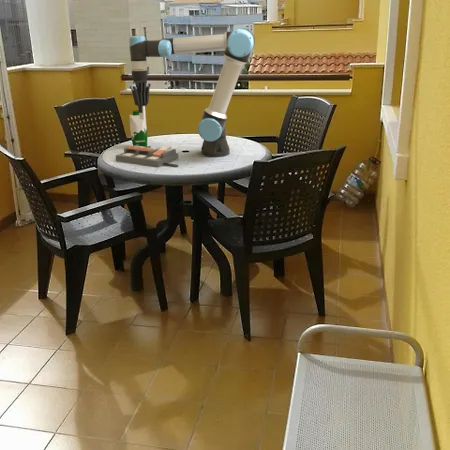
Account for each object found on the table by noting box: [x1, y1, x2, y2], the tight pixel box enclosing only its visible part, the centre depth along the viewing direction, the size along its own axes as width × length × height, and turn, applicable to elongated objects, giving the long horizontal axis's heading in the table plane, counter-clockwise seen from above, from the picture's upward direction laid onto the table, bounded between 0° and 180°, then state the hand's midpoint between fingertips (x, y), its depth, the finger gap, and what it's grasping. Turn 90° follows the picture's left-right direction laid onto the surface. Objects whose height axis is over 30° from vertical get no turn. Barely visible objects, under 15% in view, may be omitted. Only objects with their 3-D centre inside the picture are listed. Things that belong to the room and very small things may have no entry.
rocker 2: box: [153, 145, 172, 157], centre depth 268 cm, size 4×10×1 cm, turn 149°
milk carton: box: [129, 109, 148, 147], centre depth 294 cm, size 9×9×20 cm
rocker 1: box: [127, 145, 144, 150], centre depth 276 cm, size 4×10×1 cm, turn 149°
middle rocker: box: [140, 147, 159, 151], centre depth 272 cm, size 4×10×1 cm, turn 149°
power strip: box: [115, 145, 179, 168], centre depth 269 cm, size 36×17×5 cm, turn 59°
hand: (142, 119), depth 264 cm, fingers closed
